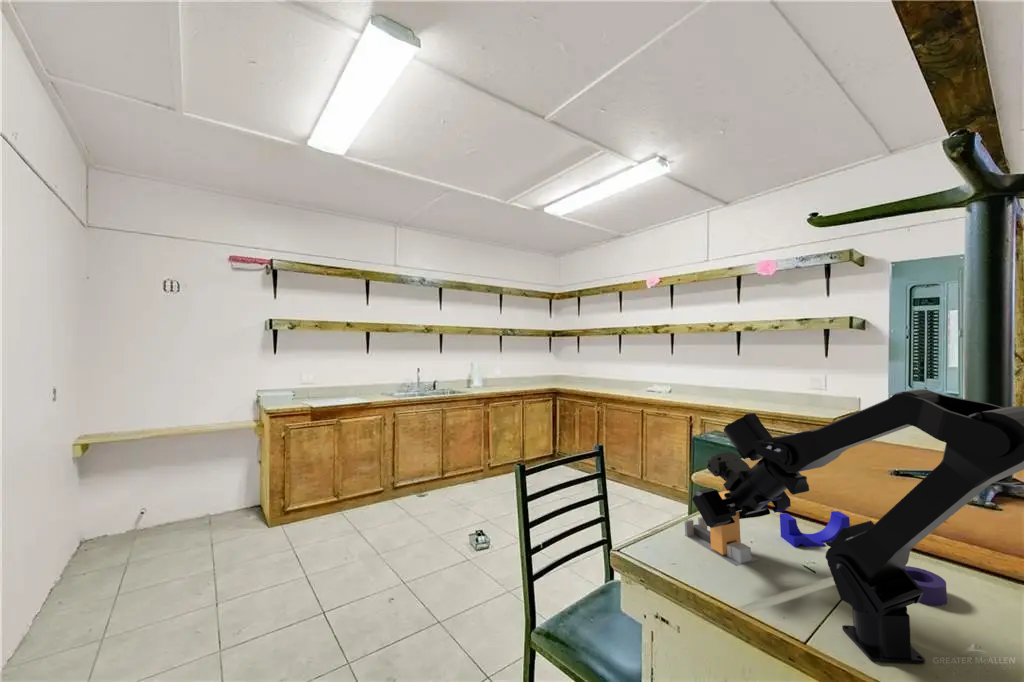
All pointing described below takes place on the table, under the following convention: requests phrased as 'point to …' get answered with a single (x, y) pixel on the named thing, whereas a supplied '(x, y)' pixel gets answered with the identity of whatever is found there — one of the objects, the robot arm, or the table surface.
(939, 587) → the lever
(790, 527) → the cable clip
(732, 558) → the grey pronged base
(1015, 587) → the table surface
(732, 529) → the orange block
